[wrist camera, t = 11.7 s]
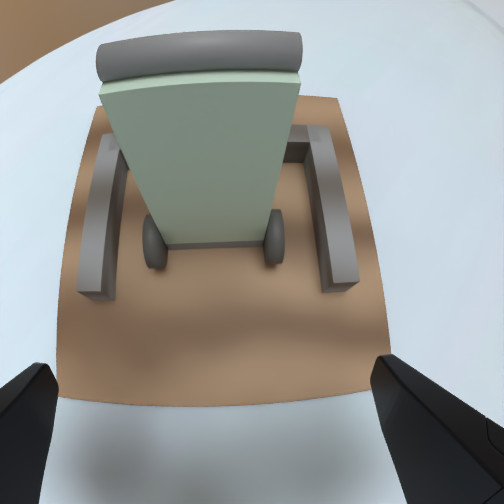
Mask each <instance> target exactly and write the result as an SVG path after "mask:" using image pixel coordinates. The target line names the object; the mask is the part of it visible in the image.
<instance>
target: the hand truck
mask: <svg viewBox="0 0 504 504" xmlns="http://www.w3.org/2000/svg"><path fill="white" fill-rule="evenodd" d="M302 52H303V46H302V38H301V35H300V33H298V32H284V31H264V30H217V31H196V32H183V33H172V34H163V35H154V36H147V37H140V38H133V39H127V40H121V41H116V42H111V43H106V44H101V45H100V46H99V47H98V50H97V54H96V69H97V74H98V77H99V79H100V80H101V81H102V82H103V84H102V86H101V89H100V92H99V97H100V100H101V102H102V105H103V107H104V110H105V112H106V115H107V117H108V120H109V122H110V125H111V127H112V129H113V132H114V134H115V136H116V139H117V141H118V143H119V146H120V148H121V150H122V153H123V155H124V157H125V159H126V162H127V164H128V166H129V168H130V171H131V173H132V175H133V177H134V179H135V181H136V184H137V186H138V188H139V190H140V192H141V194H142V197H143V199H144V201H145V203H146V205H147V207H148V209H149V211H150V213H151V214H147V215H146V217H145V219H144V223H143V232H142V243H143V253H144V258H145V262H146V265H147V267H148V268H149V269H158V268H165V267H166V264H167V259H168V250H190V249H216V248H242V247H262V245H263V252H264V259H265V263H266V264H282V262H283V259H284V252H285V231H284V221H283V216H282V212H281V210H280V209H271V208H272V204H273V200H274V196H275V192H276V187H277V183H278V179H279V175H280V171H281V166H282V162H283V158H284V154H285V150H286V145H287V141H288V137H289V133H290V129H291V124H292V120H293V116H294V112H295V107H296V103H297V99H298V94H299V90H300V86H301V81H300V77H299V74H298V71H299V69H300V66H301V62H302Z"/></svg>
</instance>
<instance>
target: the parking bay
mask: <svg viewBox="0 0 504 504" xmlns="http://www.w3.org/2000/svg"><path fill="white" fill-rule="evenodd" d="M271 209H280V210H281V212H282V216H283V221H284V231H285V252H284V259H283V262H282V264H266V263H265V259H264V252H263V245H262V247H242V248H216V249H190V250H168V259H167V264H166V267H165V268H158V269H149V268H148V267H147V265H146V262H145V258H144V253H143V243H142V232H143V223H144V219H145V217H146V215H147V214H151V213H150V211H149V209H148V207H147V205H146V203H145V201H144V199H143V197H142V194H141V192H140V190H139V188H138V186H137V184H136V181H135V179H134V177H133V175H132V173H131V171H130V168H129V166H128V164H127V162H126V159H125V157H124V155H123V153H122V150H121V148H120V146H119V143H118V141H117V139H116V136H115V134H114V132H113V129H112V127H111V125H110V122H109V120H108V117H107V115H106V112H105V110H104V107H103V106H98V107H97V108H96V111H95V114H94V118H93V121H92V124H91V127H90V131H89V134H88V137H87V141H86V145H85V148H84V152H83V156H82V159H81V163H80V167H79V172H78V176H77V180H76V185H75V189H74V194H73V199H72V204H71V209H70V214H69V220H68V226H67V232H66V238H65V245H64V252H63V260H62V268H61V277H60V288H59V300H58V316H57V347H56V366H57V382H58V386H59V394H58V397H64V398H71V399H79V400H87V401H96V402H106V403H117V404H130V405H148V406H185V407H198V406H236V405H254V404H268V403H279V402H290V401H299V400H308V399H316V398H323V397H330V396H337V395H343V394H349V393H355V392H361V391H366V390H372V389H371V385H370V376H371V373H372V370H373V367H374V364H375V360H376V358H377V357H378V356H379V355H385V354H391V348H390V338H389V329H388V321H387V313H386V306H385V299H384V292H383V286H382V280H381V274H380V268H379V262H378V256H377V251H376V246H375V241H374V236H373V231H372V226H371V221H370V217H369V212H368V208H367V203H366V199H365V195H364V191H363V186H362V182H361V178H360V175H359V171H358V167H357V163H356V159H355V156H354V152H353V149H352V145H351V142H350V138H349V135H348V131H347V128H346V125H345V122H344V118H343V115H342V112H341V109H340V106H339V103H338V100H337V98H330V97H317V96H302V95H298V99H297V103H296V107H295V112H294V116H293V120H292V124H291V129H290V133H289V137H288V141H287V145H286V150H285V154H284V158H283V162H282V166H281V171H280V175H279V179H278V183H277V187H276V192H275V196H274V200H273V204H272V208H271Z"/></svg>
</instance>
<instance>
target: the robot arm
mask: <svg viewBox="0 0 504 504" xmlns="http://www.w3.org/2000/svg"><path fill="white" fill-rule="evenodd" d="M370 385H371V389H372V393H373V397H374V401H375V405H376V409H377V413H378V417H379V421H380V425H381V429H382V432H383V435H384V438H385V441H386V443H387V446H388V449H389V452H390V454H391V457H392V460H393V463H394V466H395V469H396V472H397V475H398V477H399V480H400V483H401V486H402V489H403V492H404V495H405V498H406V502H407V504H504V428H503V427H501V426H500V425H498V424H496V423H495V422H493V421H492V420H490V419H489V418H486V417H485V416H484V415H483V414H481V413H480V412H478V411H477V410H475V409H474V408H472V407H471V406H469V405H468V404H466V403H465V402H463V401H462V400H460V399H459V398H457V397H456V396H454V395H453V394H451V393H450V392H448V391H447V390H445V389H444V388H442V387H441V386H439V385H438V384H436V383H435V382H433V381H432V380H430V379H429V378H427V377H426V376H424V375H423V374H421V373H420V372H418V371H417V370H416V369H414V368H413V367H411V366H410V365H408V364H407V363H405V362H404V361H402V360H401V359H399V358H398V357H396V356H395V355H393V354H385V355H379V356H378V357H377V358H376V360H375V364H374V367H373V370H372V373H371V376H370ZM58 394H59V386H58V382H57V381H56V379H55V377H54V375H53V373H52V371H51V369H50V367H49V365H47V364H46V363H38V362H36V363H33V364H32V365H31V366H29V367H28V368H27V369H25V370H24V371H23V372H21V373H20V374H19V375H17V376H16V377H15V378H13V379H12V380H11V381H9V382H8V383H7V384H5V385H4V386H3V387H2V388H0V504H39V499H40V492H41V486H42V481H43V475H44V470H45V465H46V460H47V456H48V451H49V447H50V442H51V438H52V432H53V426H54V419H55V412H56V406H57V399H58Z"/></svg>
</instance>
